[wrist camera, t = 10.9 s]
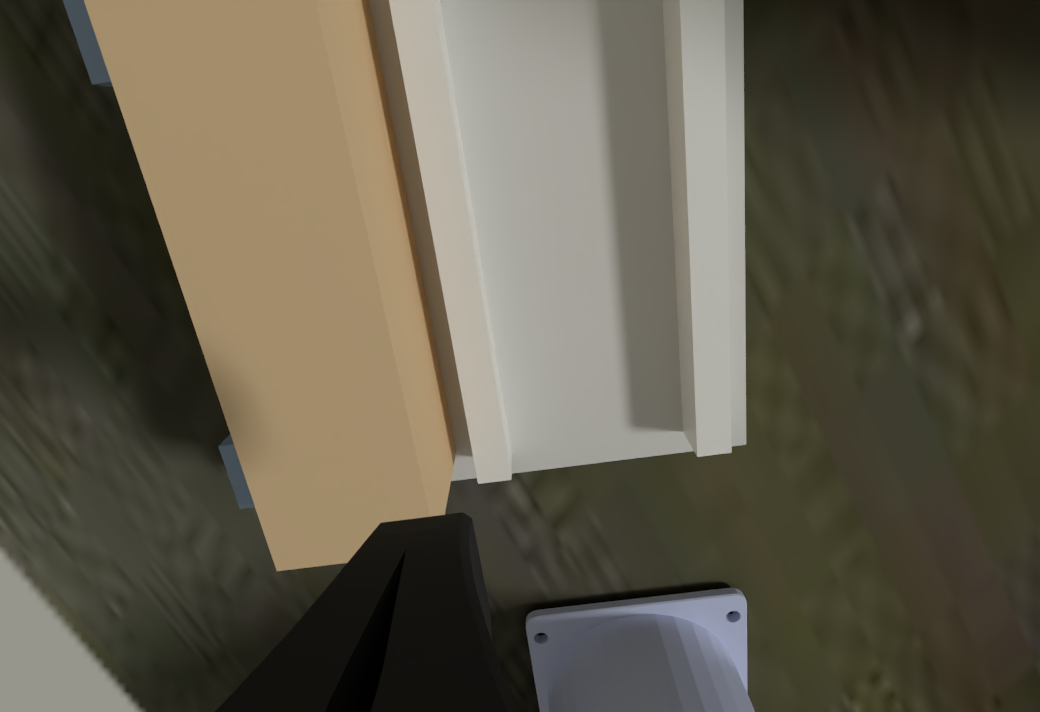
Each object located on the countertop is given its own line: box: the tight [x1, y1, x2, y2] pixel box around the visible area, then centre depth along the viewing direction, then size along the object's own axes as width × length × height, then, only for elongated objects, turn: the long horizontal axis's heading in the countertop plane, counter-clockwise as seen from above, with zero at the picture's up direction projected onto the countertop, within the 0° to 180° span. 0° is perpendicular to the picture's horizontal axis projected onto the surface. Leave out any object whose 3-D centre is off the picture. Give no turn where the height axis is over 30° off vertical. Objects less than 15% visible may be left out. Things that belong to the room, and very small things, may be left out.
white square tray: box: [63, 0, 746, 509], centre depth 16 cm, size 16×16×3 cm
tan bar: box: [84, 0, 456, 571], centre depth 15 cm, size 14×4×5 cm, turn 8°
